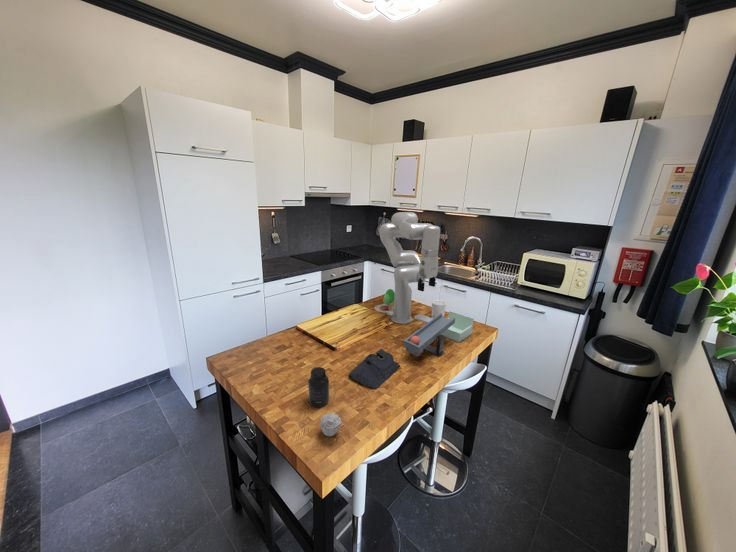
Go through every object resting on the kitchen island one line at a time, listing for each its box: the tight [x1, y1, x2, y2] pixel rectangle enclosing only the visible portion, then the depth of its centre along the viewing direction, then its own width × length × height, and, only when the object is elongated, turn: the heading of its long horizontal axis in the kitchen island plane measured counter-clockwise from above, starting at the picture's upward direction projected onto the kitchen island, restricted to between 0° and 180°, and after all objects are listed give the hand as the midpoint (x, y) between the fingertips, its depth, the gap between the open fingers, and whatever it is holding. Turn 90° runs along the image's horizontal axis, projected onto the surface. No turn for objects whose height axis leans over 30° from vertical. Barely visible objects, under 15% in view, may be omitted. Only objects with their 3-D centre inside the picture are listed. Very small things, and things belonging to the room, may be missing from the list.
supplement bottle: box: [307, 366, 330, 408], centre depth 97 cm, size 7×7×12 cm
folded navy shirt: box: [348, 348, 401, 390], centre depth 116 cm, size 15×22×5 cm
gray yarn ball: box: [319, 413, 342, 437], centre depth 85 cm, size 6×7×7 cm
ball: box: [410, 336, 420, 345], centre depth 122 cm, size 4×4×4 cm
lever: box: [403, 313, 455, 357], centre depth 134 cm, size 16×30×5 cm, turn 136°
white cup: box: [431, 299, 447, 318], centre depth 166 cm, size 8×8×10 cm
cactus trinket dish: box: [374, 288, 395, 314], centre depth 178 cm, size 15×14×14 cm
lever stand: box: [417, 326, 445, 358], centre depth 132 cm, size 13×5×9 cm, turn 46°
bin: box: [441, 310, 475, 344], centre depth 148 cm, size 14×14×9 cm
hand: (426, 288), depth 136 cm, fingers open, 9 cm apart
